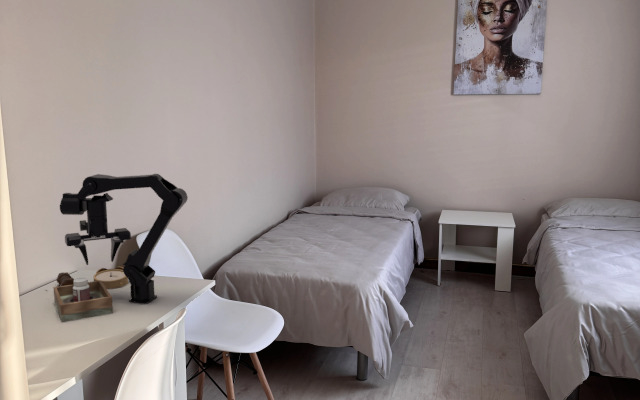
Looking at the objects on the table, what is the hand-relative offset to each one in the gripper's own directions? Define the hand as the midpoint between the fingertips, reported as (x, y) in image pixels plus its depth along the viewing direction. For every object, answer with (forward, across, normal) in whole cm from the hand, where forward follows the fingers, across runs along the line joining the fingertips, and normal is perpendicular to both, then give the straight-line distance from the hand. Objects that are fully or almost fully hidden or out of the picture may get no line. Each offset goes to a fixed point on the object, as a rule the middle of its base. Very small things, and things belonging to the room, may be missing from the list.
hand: (99, 263), depth 169 cm
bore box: (+12, +6, +5) cm, 14 cm away
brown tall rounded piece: (+12, +8, -18) cm, 23 cm away
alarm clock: (+12, -6, -16) cm, 21 cm away
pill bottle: (+12, +6, +3) cm, 14 cm away
